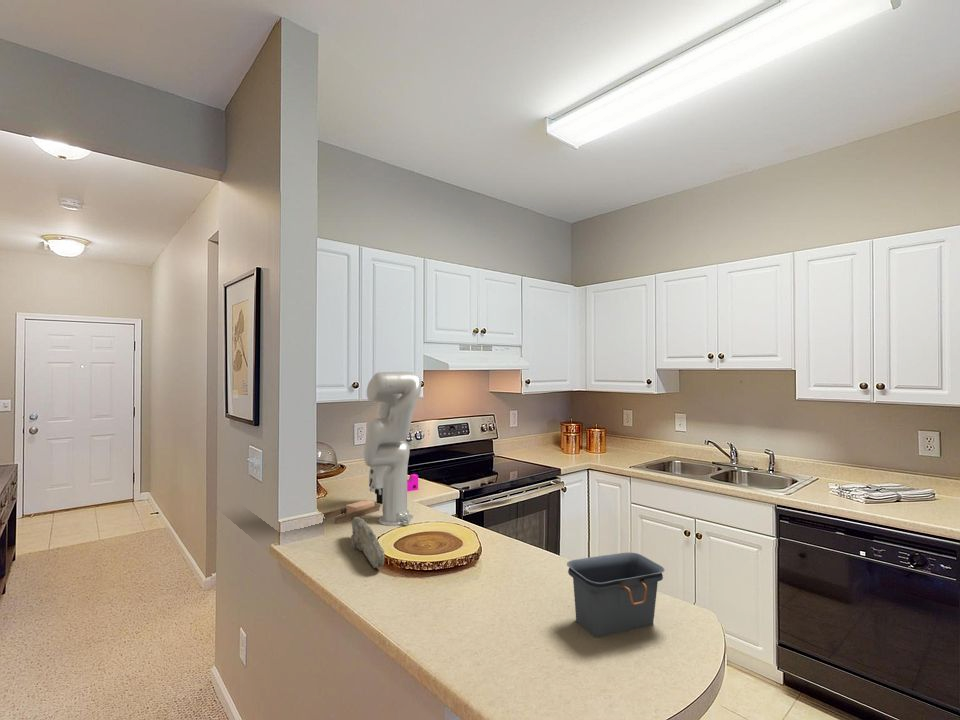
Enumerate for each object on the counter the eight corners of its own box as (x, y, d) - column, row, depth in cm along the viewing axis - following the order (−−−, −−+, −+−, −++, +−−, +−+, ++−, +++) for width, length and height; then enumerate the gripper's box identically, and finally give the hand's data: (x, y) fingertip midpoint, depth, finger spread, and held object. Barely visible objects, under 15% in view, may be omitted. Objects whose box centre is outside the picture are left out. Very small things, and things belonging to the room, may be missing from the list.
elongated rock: (390, 575, 146) (390, 541, 146) (373, 579, 143) (373, 544, 143) (359, 538, 177) (359, 510, 177) (344, 540, 174) (344, 512, 174)
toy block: (413, 488, 247) (413, 473, 247) (418, 490, 241) (418, 475, 241) (384, 492, 239) (384, 476, 239) (388, 495, 234) (388, 479, 234)
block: (374, 511, 208) (374, 502, 208) (355, 517, 200) (355, 507, 200) (365, 509, 212) (365, 499, 212) (346, 514, 204) (346, 505, 204)
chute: (379, 511, 208) (379, 505, 208) (336, 524, 191) (336, 518, 191) (364, 507, 214) (364, 501, 214) (321, 519, 197) (321, 513, 197)
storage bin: (633, 604, 128) (633, 549, 128) (677, 635, 114) (677, 572, 114) (561, 620, 120) (561, 561, 120) (599, 655, 106) (599, 588, 106)
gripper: (372, 464, 206) (372, 508, 206) (399, 459, 218) (399, 500, 218) (361, 462, 211) (361, 505, 211) (387, 457, 223) (387, 497, 223)
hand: (380, 503), depth 215 cm, fingers closed
